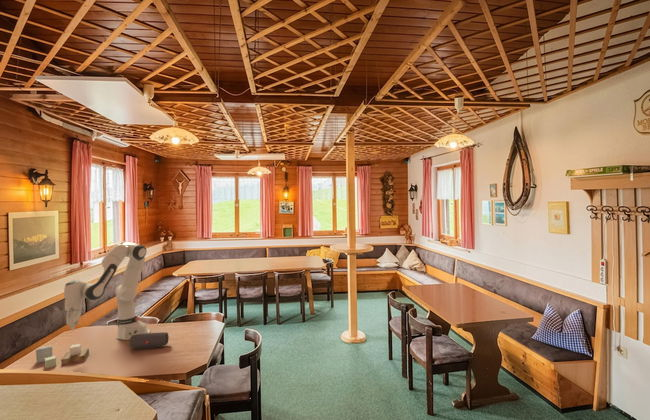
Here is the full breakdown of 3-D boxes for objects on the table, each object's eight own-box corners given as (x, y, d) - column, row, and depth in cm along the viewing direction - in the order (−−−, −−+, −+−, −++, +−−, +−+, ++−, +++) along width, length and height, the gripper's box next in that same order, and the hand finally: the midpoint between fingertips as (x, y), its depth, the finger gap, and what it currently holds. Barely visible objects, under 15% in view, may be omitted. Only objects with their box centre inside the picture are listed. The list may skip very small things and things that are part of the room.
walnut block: (89, 354, 223) (88, 348, 223) (84, 361, 212) (84, 355, 212) (67, 358, 218) (66, 352, 218) (61, 365, 207) (61, 359, 207)
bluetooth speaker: (129, 352, 223) (128, 337, 223) (134, 346, 232) (134, 332, 232) (164, 349, 226) (164, 334, 226) (169, 343, 236) (168, 329, 235)
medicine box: (52, 357, 218) (52, 344, 218) (52, 360, 215) (52, 346, 214) (36, 361, 213) (36, 348, 213) (36, 364, 210) (35, 350, 209)
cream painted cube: (81, 350, 219) (80, 343, 218) (79, 354, 214) (79, 346, 214) (72, 352, 217) (71, 345, 216) (69, 355, 212) (69, 348, 212)
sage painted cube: (55, 363, 210) (54, 355, 210) (56, 365, 206) (55, 358, 206) (44, 366, 206) (44, 358, 206) (45, 368, 203) (45, 360, 203)
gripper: (75, 309, 206) (76, 331, 207) (83, 301, 225) (84, 321, 225) (62, 311, 204) (63, 333, 204) (71, 302, 222) (72, 323, 223)
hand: (74, 327), depth 215 cm, fingers open, 8 cm apart
